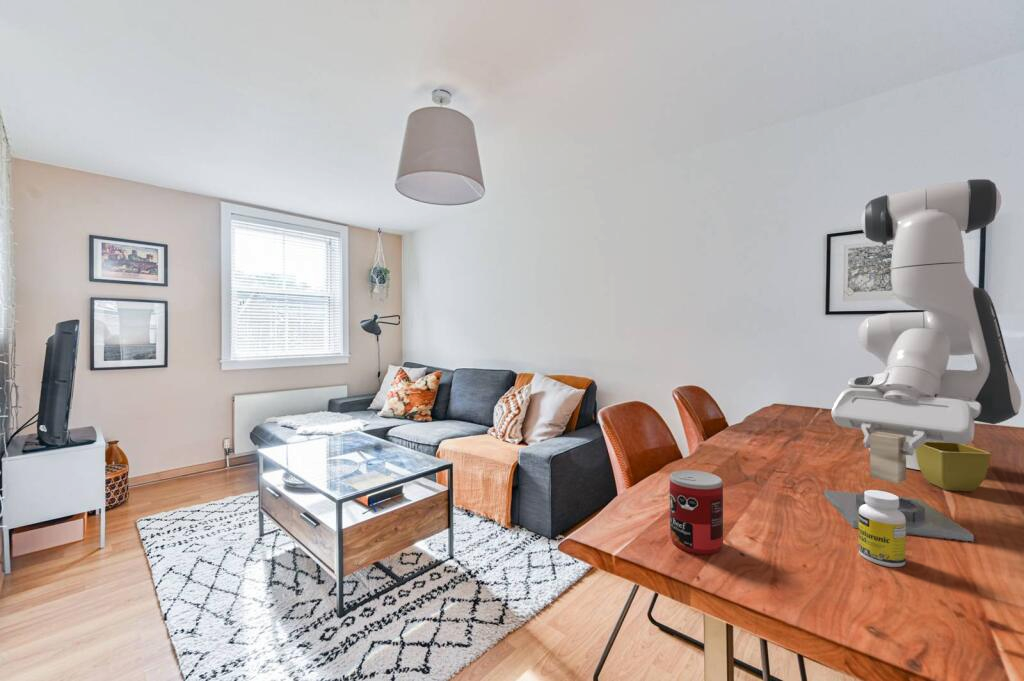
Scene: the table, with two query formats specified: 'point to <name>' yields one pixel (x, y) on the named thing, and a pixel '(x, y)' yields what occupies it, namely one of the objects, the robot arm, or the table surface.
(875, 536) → the supplement bottle
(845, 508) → the grey square socket board
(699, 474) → the canned food
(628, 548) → the table surface
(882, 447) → the birch block
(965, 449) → the flower pot
